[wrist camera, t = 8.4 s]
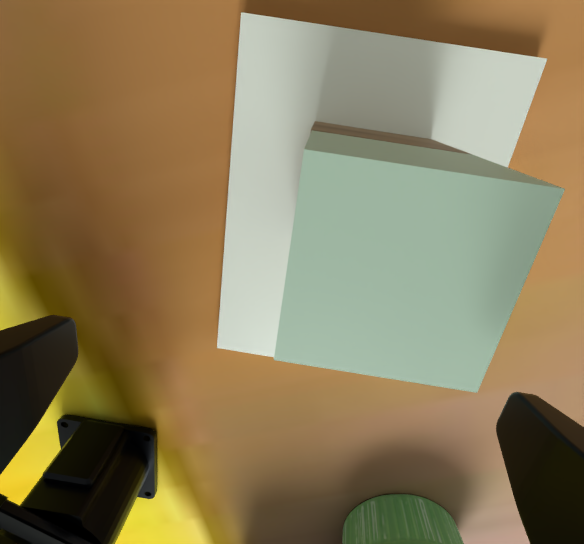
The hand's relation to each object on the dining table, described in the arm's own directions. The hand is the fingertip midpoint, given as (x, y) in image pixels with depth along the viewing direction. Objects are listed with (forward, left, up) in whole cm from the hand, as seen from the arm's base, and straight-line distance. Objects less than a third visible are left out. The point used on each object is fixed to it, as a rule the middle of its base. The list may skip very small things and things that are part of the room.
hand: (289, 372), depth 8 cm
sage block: (+2, -2, -6) cm, 7 cm away
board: (0, -2, -12) cm, 12 cm away
